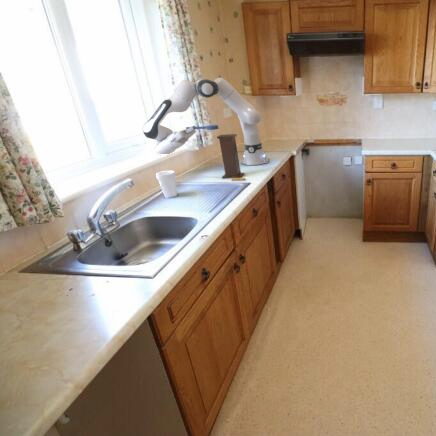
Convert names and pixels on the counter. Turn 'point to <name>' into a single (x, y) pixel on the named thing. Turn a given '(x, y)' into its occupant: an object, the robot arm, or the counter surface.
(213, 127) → the spoon
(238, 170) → the spoon stand
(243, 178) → the fry
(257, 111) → the robot arm
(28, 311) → the counter surface
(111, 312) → the counter surface
